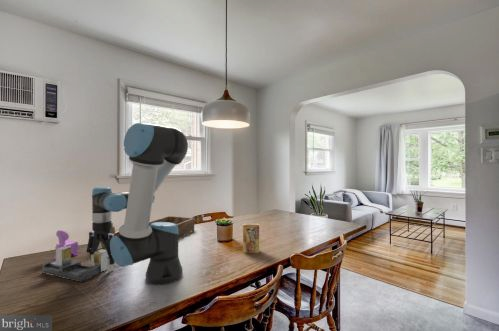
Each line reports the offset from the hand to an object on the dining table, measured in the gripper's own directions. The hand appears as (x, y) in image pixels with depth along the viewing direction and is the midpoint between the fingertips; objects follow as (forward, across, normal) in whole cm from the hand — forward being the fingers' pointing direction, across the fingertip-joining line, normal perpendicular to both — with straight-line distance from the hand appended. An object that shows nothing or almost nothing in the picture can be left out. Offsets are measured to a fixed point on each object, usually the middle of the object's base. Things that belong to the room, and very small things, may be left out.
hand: (102, 269), depth 110 cm
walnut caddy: (0, +7, -54) cm, 55 cm away
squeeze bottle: (0, +23, -22) cm, 32 cm away
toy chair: (0, +31, -4) cm, 31 cm away
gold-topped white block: (0, 0, -2) cm, 2 cm away
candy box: (0, -57, -44) cm, 72 cm away
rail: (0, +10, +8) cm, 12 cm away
